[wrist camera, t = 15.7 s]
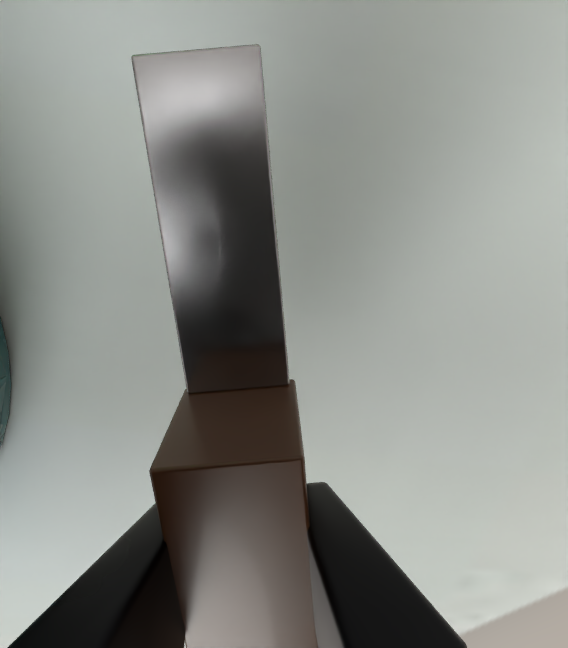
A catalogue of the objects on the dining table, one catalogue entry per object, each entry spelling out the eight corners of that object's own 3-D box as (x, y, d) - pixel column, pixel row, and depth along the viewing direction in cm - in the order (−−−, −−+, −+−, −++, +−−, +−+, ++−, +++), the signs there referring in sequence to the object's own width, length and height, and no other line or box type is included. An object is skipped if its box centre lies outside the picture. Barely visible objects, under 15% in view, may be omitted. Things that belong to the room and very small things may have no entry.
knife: (129, 61, 6) (44, -18, 4) (267, 49, 6) (265, -37, 4) (212, 553, 9) (191, 680, 6) (308, 544, 9) (321, 668, 6)
